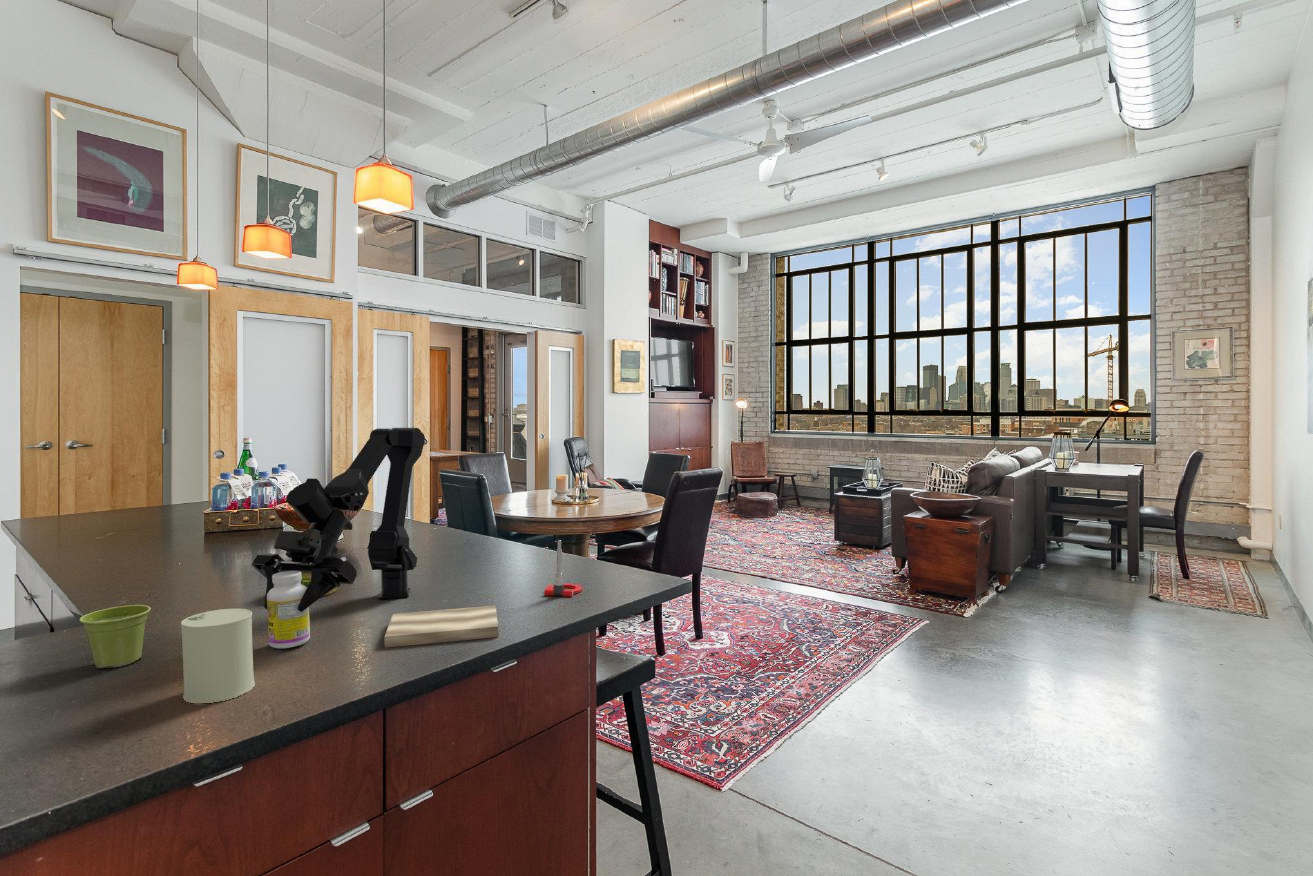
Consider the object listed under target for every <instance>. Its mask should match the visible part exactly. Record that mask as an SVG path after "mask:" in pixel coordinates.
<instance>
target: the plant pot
mask: <svg viewBox="0 0 1313 876" xmlns="http://www.w3.org/2000/svg"><path fill="white" fill-rule="evenodd" d="M151 610H152V608H151V606H149V605H145V604H134V605H133V604H130V605H122V606H121V605H120V606H115V607H108V608H103V609H100V610H96V611H92V612H90V613H87V614H85V615H83V616H81V617H80V618H79V623H81V624H83V627H84V630H85V631H86V632H87V635H88V636H87V637H88V639H89V640H88V641H89V643H90V644H89V645H90V649H91V653H92V657H93V661H94V665H98V666H113V665H120V664H124V663H129V662H133V661H135V660H137V661H138V660H140V659H139V658H140V657H141V658H142V654H143V644H144V635H145V627H146V621H147V620H148V615H149V613H150V612H151Z"/></svg>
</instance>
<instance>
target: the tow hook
mask: <svg viewBox="0 0 1313 876" xmlns="http://www.w3.org/2000/svg"><path fill="white" fill-rule="evenodd" d="M562 558H563V549H562V540H561V539H558V540H557V548H556V571H555V582H554V584H551V585H547V587H545V589H544V592H543V594H544V596H548V597H551V596H552V597H559V598H560V597H561V598H562V597H568V598H569V597H570V598H571V597H573V596H574V595H575V594H579V593H581V592H582V591H583V586H581V585H579V584H575V583H563V573H562V571H563V570H562V567H563V565H562V564H563V561H562V560H563V559H562ZM565 589H566V590H565Z"/></svg>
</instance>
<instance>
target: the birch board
mask: <svg viewBox="0 0 1313 876" xmlns="http://www.w3.org/2000/svg"><path fill="white" fill-rule="evenodd" d="M490 638H499V622H498V613H497V605H485V606H473V607H461V608H447V609H437V610H423V611H411V612H401V613H393V614H392V616H391V619H390V621H389V623H388V626H387V628H386V631H385V635H384V639H383V640H384V648H392V647H395V648H396V647H405V646H415V645H426V644H437V643H447V642H458V641H460V642H461V641H468V640H470V641H471V640H481V639H490Z"/></svg>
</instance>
